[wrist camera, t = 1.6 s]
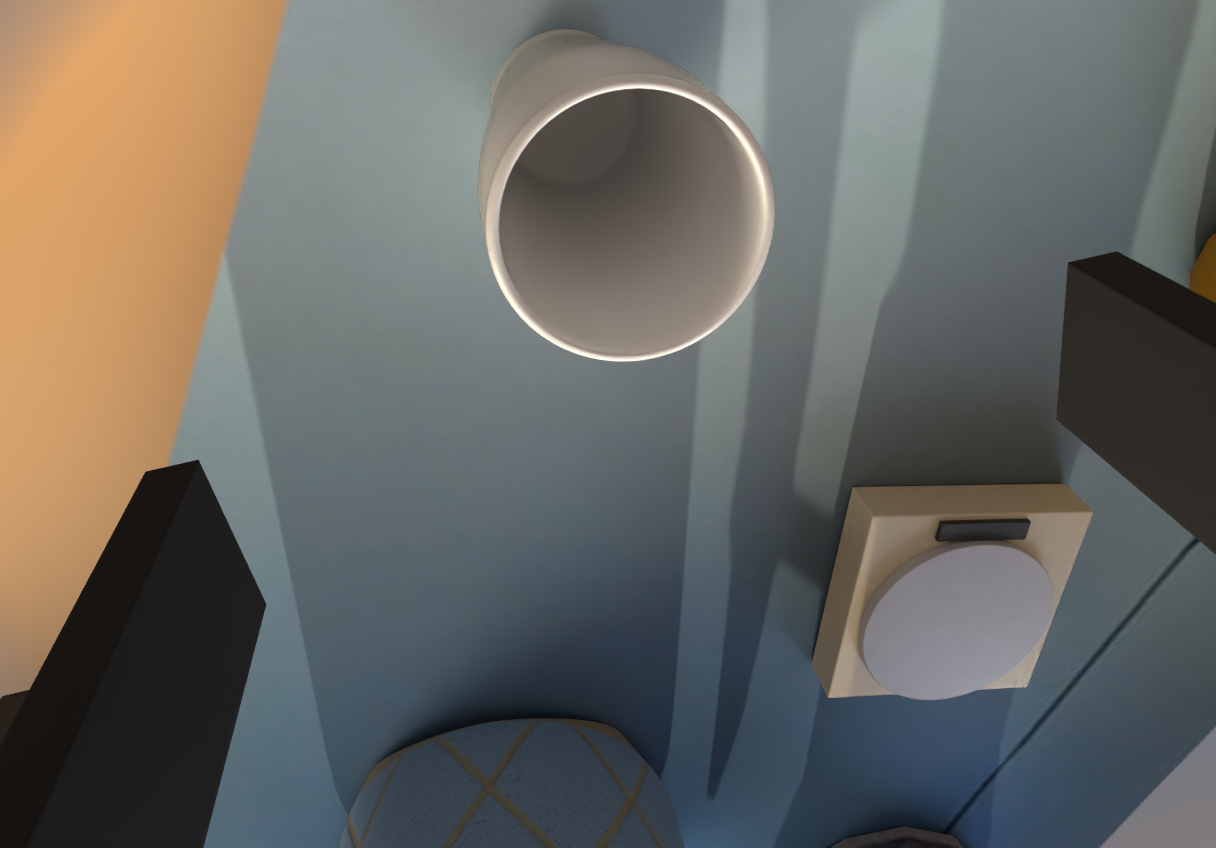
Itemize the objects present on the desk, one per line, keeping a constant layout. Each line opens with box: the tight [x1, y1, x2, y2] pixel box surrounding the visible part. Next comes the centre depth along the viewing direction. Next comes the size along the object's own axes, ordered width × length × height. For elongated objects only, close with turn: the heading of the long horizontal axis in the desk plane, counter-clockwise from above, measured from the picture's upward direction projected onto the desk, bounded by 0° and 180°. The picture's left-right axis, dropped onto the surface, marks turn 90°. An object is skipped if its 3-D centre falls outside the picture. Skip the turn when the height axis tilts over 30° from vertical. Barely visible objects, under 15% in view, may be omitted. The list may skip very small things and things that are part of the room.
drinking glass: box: [478, 29, 775, 361], centre depth 28 cm, size 7×7×15 cm
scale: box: [812, 484, 1093, 700], centre depth 46 cm, size 11×11×3 cm
